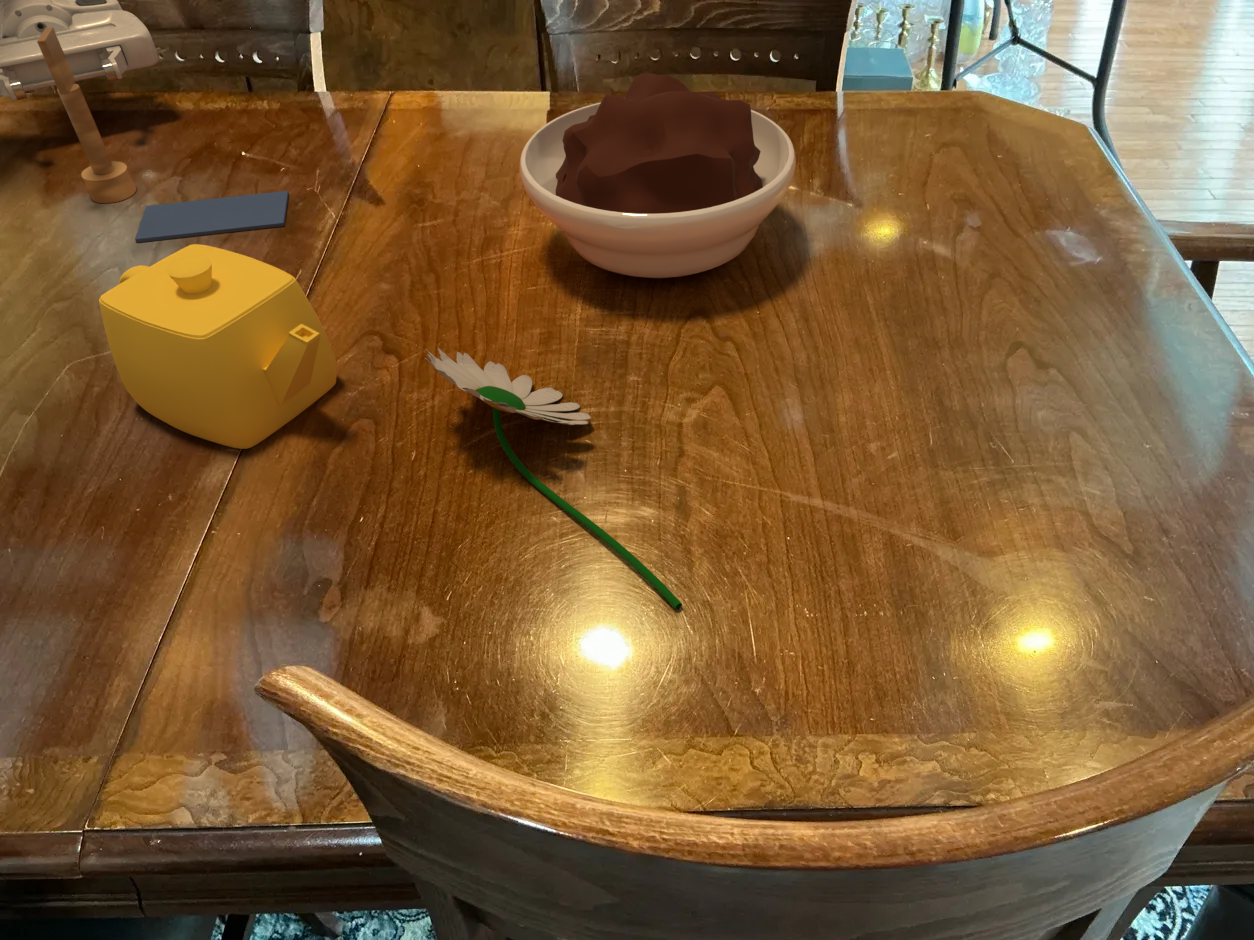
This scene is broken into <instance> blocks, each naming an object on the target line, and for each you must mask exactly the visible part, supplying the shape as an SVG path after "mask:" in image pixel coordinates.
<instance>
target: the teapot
mask: <svg viewBox="0 0 1254 940" xmlns="http://www.w3.org/2000/svg"><path fill="white" fill-rule="evenodd" d="M98 304H99V310H100V314H101V319H102V323H103V328H104V332H105V335H106V340H107V343H108V346H109V350H110V353H111V357H112V359H113V363H114V365H115V368H116V370H117V373H118V376H119V378H120V380H121V382H122V385H123V387H124V388H125V390H126V391H127V393H128V394H129V395H130V396H131V398H132V399H133V400H134V401H135V402H136V403H137V404H138V405H139V406H140V407H141V408H142V410H144V411H145V412H147V413H148V414H150V415H151V416H153V417H155V418H156V419H158V420H160V421H162V422H164V423H166V424H167V425H168V426H171V427H173V428H175V429H177V430H179V431H180V432H183V433H186V434H188V435H190V436H194V437H197V438H200V439H202V440H205V441H208V442H212V443H215V444H218V445H221V446H226V447H229V448H233V449H240V450H246V449H247V450H248V449H252V448H253V447H254V446H255V447H256V445H258V444H260V443H261V442H262V441H264V440H266V439H267V438H268V437H270V436H271V435H273V434H274V433H276V432H277V431H278V430H280V429H281V428H283V427H284V426H285V425H287V424H288V423H289V422H291V421H292V420H293V419H295V418H296V417H297V416H299V415H301V413H303V412H304V411H306V410H307V409H308V408H309V407H310V406H312V405H313V404H314V403H315V402H317V401H318V400H319V399H321V398H322V397H323V396H324V395H326V394H327V393H328V392H329V391H330V390H332V389H333V387H334V386H335V385H336V383H337V371H338V370H337V369H338V368H337V367H338V366H337V360H336V357H335V353H334V351H333V348H332V346H331V343H330V341H329V338H328V336H327V333H326V331H325V329H324V327H323V325H322V322H321V321H320V319H319V316H318V315H317V313H316V311H315V309H314V307H313V306H312V304H311V302H310V301H309V299H308V297H307V296H306V294H305V292H304V290H303V289H302V287H301V286H300V284H299V281H297V279H296V278H295V276H293V275H291V273H288V272H287V271H285V270H283V269H280V268H278V267H276V266H274V265H271V264H270V263H266V262H264V261H262V260H258V259H256V258H253V257H250V256H248V255H245V254H241V253H237V252H234V251H231V250H227V249H223V248H219V247H217V246H211V245H206V244H198V243H193V244H189V245H187V246H185V247H183V248H181V249H179V250H177V251H175V252H174V253H171V254H170V255H167V256H166V257H164V258H163V259H160V260H159V261H157V262H155V263H154V264H152V265H150V266H148V265H135V266H132V267H129V268H127V270H126V271H124V272H123V273H122V275H121V276H120V278H119V280H118V284H117V285H116V286H114V287H112V288H111V289H109V290H107V291H106V292H105V293H103V294H101V295H100V297H99V299H98Z"/></svg>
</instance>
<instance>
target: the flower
mask: <svg viewBox="0 0 1254 940" xmlns="http://www.w3.org/2000/svg"><path fill="white" fill-rule="evenodd" d="M436 349H437V350H438V353H439V357H440V358H438V357H436V356H435V355H434V354H432V353H431V352H430V351H429V350H428V349H426V351H425V350H423V353H425V354H427V356H428V358H429V359H428V358H426V357H424V358H423V359H424V360H425V361H426V362H428V363H429V364H430V365H431V366H432V367H433V368H434V369H435V370H436V372H437V373H438V374H440V375H441V376H442V377H443V378H444V379H446V380H447V381H449V382H450V383H451V384H453V385H454V386H455V387H457V389H460V391H463V392H465V393H468V394H470V395H472V396H474V397H476V398H478V399H479V400H481V401H482V402H484V404H487V405H488V406H490V407H491V408H492V420H493V427H494V431H495V434H496V437H497V439H498V442H499V444H500V446H501V448H502V449H503V451H504V453H505V455H506V456H507V458H508V460H509V461H510V462H511V463H512V465H513V466H514V467H515V468H516V469H517V470H518V472H519V473H520V474H521V475H522V476H523V477H524V478H525V479H526V480H527V481H528V482H529V483H530V484H531V485H533V486H534V487H535V488H536V489H537V490H538V491H539V492H541V494H543V495H545V496H546V497H547V498H548V499H549V500H551V501H552V502H553V503H554V504H556V505H557V506H559V507H560V508H561V509H562V510H563V511H565V512H566V513H568V514H569V515H570V516H571V517H573V518H574V519H575V520H577V521H578V522H580V523H581V524H582V525H583V526H584V527H586V528H587V529H588V530H589V531H591V532H592V533H593V534H594V535H596V536H597V537H598V538H600V539H601V540H602V541H603V542H604V543H606V544H607V545H608V546H609V547H611V549H613V550H614V551H615V552H616V553H618V554H619V556H621V557H622V558H623V559H624V560H626V561H627V562H628V563H629V564H630V565H631V566H632V567H633V568H634V569H635V570H636V571H638V573H639V574H641V575H642V577H644V578H645V579H646V580H647V581H648V582H649V584H650V585H652V586H653V588H655V589H656V591H658V592H659V594H660V595H662V597H663V598H664V599H665V600H666V601H667V602H668V603H669V604H670V605H671V606H672V607H673V609H674V610H675V611H678V610H679V609H680V608H682V606H683V603H682V602H681V601H680V600H679V599H678V598H677V597H676V596H675V594H674V593H673V592H672V591H671V589H669V588H668V587H667V586H666V585H665V584H664V583H663V582H662V581H661V580H660V579H659V578H658V577H657V575H655V574H654V573H653V572H652V571H651V570H650V569H649V568H648V567H647V566H645V565H644V564H643V563H642V562H641V560H639V559H638V558H637V557H636V556H635V555H634V554H632V553H631V552H630V551H629V550H628V549H627V548H626V547H625V546H623V545H622V544H621V543H620V542H618V541H617V540H616V539H615V538H614V537H612V536H611V535H610V534H609V533H608V532H606V531H605V530H604V529H603V528H601V527H600V526H599V525H597V524H596V523H595V522H594V521H592V520H591V519H590V518H588V517H587V516H586V515H585V514H583V513H582V512H581V511H579V510H578V509H577V508H575V507H574V506H573V505H571V504H570V503H569V502H567V501H566V500H564V499H563V498H562V497H560V496H559V495H558V494H557V493H556V492H555V491H553V490H552V489H551V488H549V487H548V486H547V485H546V484H545V483H543V482H542V481H541V480H540V479H538V478H537V476H536V475H534V474H533V473H532V472H531V471H530V470H529V468H527V467H526V466H525V465H524V464H523V462H522V461H521V459H520V458H518V456H517V455H516V453H515V452H514V450H513V448H512V447H511V445H510V443H509V441H508V440H507V437H506V435H505V432H504V428H503V425H502V419H501V411H502V412H505V413H511V414H513V413H517V414H520V415H522V416H525V417H527V418H529V419H533V420H542V421H545V422H549V423H553V424H558V425H565V426H574V425H577V426H584V425H586V426H587V425H588V424H589V421H588V420H591V419H592V417H591V415H590V414H589V413H587V412H572V411H578V410H579V409H580V408H581V405H580V404H579V403H577V402H573V401H571V402H570V401H569V402H561V403H556V404H555V402H558V401H560V400H562V398H563V397H564V393H562V392H561V391H560V390H557V389H554V388H553V387H551V386H548V387H542V388H539V389H536V390H535V391H532V388H533V384H534V383H533V378H532V377H531V376H529V375H528V374H523V375H520V376H517V377H516V378H515V379H514V380H512V381H511V378H510V376H509V374H508V371H507V369H506V367H505V366H504V365H503V364H502V363H499V362H498V363H496V362H493V361H491V360H489V361H488V362H487V363H486V364H485V365H484V368H483V369H482V368H481V367H480V365H478V363H476V361H475V360H474V359H473V357H471V356H470V355H469V354H468V353H466V352H463V354H462V353H461V352H459V351H456V357H455V360H456V361H454V360H453V359H451V358H450V357H449V356H448V355H447V354H446V353H445V352H444V351H443V350H441V349H440V348H439V347H436ZM427 352H428V353H427ZM531 391H532V392H531ZM553 403H554V404H553ZM564 412H565V413H564ZM566 412H567V413H566Z"/></svg>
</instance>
